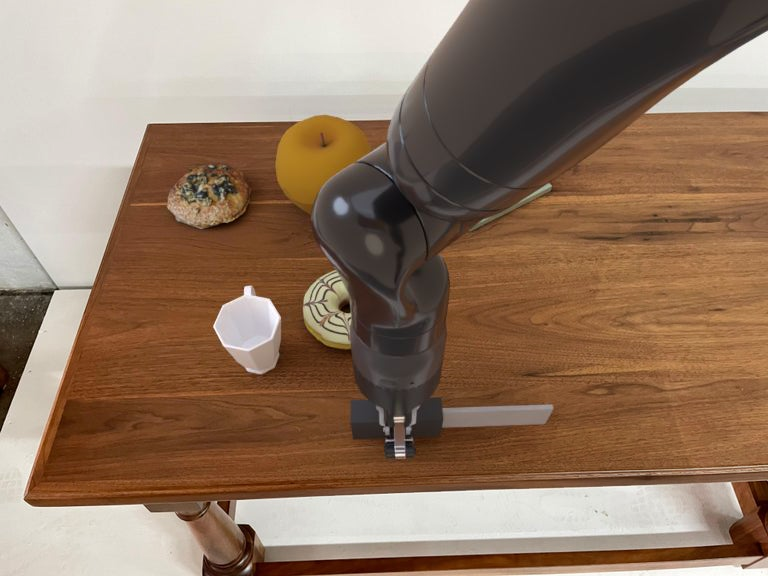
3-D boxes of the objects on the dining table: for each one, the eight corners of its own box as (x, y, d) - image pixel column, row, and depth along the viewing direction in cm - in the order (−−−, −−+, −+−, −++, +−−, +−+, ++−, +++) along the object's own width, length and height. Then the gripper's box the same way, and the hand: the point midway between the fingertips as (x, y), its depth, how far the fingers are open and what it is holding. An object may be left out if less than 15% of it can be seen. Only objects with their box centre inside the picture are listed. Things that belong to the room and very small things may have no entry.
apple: (344, 153, 88) (339, 88, 78) (393, 209, 82) (395, 145, 72) (266, 188, 84) (250, 124, 75) (311, 250, 78) (301, 188, 68)
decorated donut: (412, 312, 73) (413, 294, 69) (351, 372, 68) (350, 357, 65) (348, 266, 76) (347, 247, 73) (287, 320, 72) (283, 303, 69)
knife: (546, 433, 62) (556, 415, 58) (352, 439, 62) (350, 423, 58) (542, 411, 63) (552, 393, 60) (352, 417, 63) (350, 399, 59)
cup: (230, 389, 67) (213, 356, 60) (228, 314, 72) (212, 275, 66) (293, 380, 68) (283, 346, 61) (286, 306, 73) (277, 267, 66)
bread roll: (226, 159, 87) (220, 136, 82) (268, 212, 83) (263, 190, 79) (156, 196, 83) (145, 173, 79) (196, 252, 80) (187, 232, 75)
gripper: (452, 426, 44) (437, 493, 58) (437, 273, 52) (427, 365, 66) (351, 429, 44) (360, 496, 58) (351, 276, 52) (359, 367, 66)
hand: (396, 426), depth 62 cm, fingers closed on knife, 2 cm apart
